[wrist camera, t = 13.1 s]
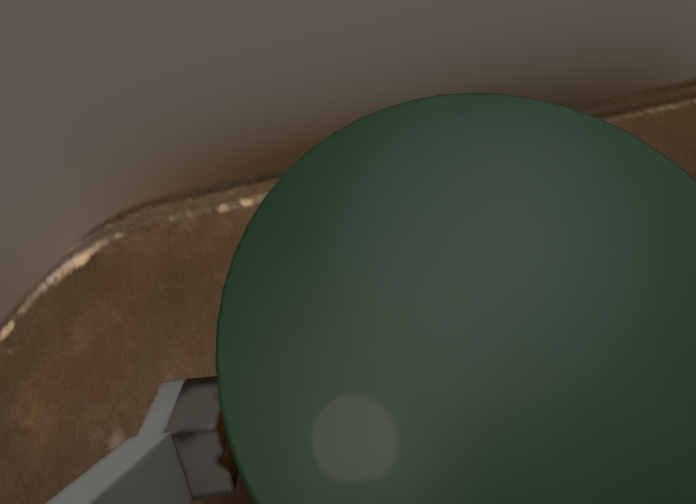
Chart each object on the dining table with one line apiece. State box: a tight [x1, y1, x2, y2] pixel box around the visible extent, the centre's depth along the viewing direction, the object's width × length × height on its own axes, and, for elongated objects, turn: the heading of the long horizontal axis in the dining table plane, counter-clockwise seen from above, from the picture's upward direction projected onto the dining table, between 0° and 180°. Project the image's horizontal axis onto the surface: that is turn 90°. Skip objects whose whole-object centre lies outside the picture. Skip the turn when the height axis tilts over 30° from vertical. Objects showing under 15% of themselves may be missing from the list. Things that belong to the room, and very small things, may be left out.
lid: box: [216, 93, 696, 504], centre depth 6 cm, size 6×6×2 cm
